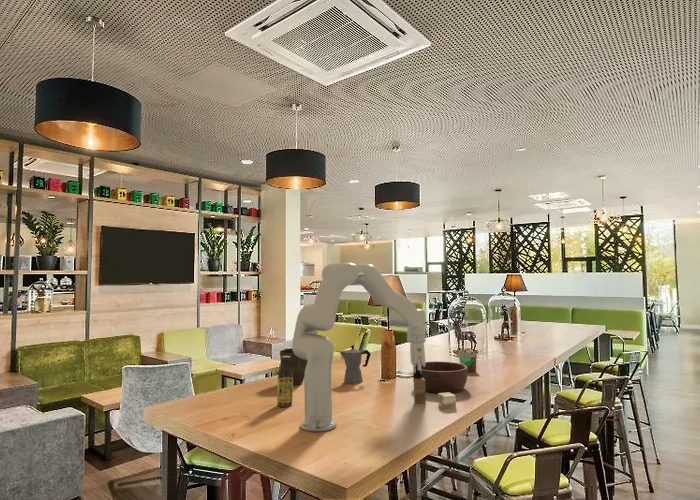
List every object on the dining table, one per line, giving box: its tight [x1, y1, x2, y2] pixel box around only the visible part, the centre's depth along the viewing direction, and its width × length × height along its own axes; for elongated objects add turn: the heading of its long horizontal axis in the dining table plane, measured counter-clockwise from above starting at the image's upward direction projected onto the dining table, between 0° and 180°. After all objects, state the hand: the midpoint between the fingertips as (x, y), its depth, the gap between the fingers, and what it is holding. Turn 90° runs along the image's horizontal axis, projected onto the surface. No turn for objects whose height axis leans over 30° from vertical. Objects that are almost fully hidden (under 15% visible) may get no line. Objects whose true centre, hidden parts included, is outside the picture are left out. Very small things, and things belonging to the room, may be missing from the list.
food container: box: [458, 350, 478, 373], centre depth 248 cm, size 12×6×10 cm, turn 25°
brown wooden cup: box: [279, 348, 308, 386], centre depth 225 cm, size 15×15×16 cm
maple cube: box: [437, 392, 457, 410], centre depth 180 cm, size 5×5×5 cm
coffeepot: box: [339, 344, 371, 385], centre depth 227 cm, size 15×9×18 cm, turn 87°
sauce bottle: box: [276, 356, 294, 408], centre depth 186 cm, size 6×6×20 cm
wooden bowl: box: [421, 361, 469, 394], centre depth 210 cm, size 25×25×10 cm
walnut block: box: [413, 378, 427, 406], centre depth 185 cm, size 4×4×10 cm
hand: (417, 382), depth 189 cm, fingers closed
